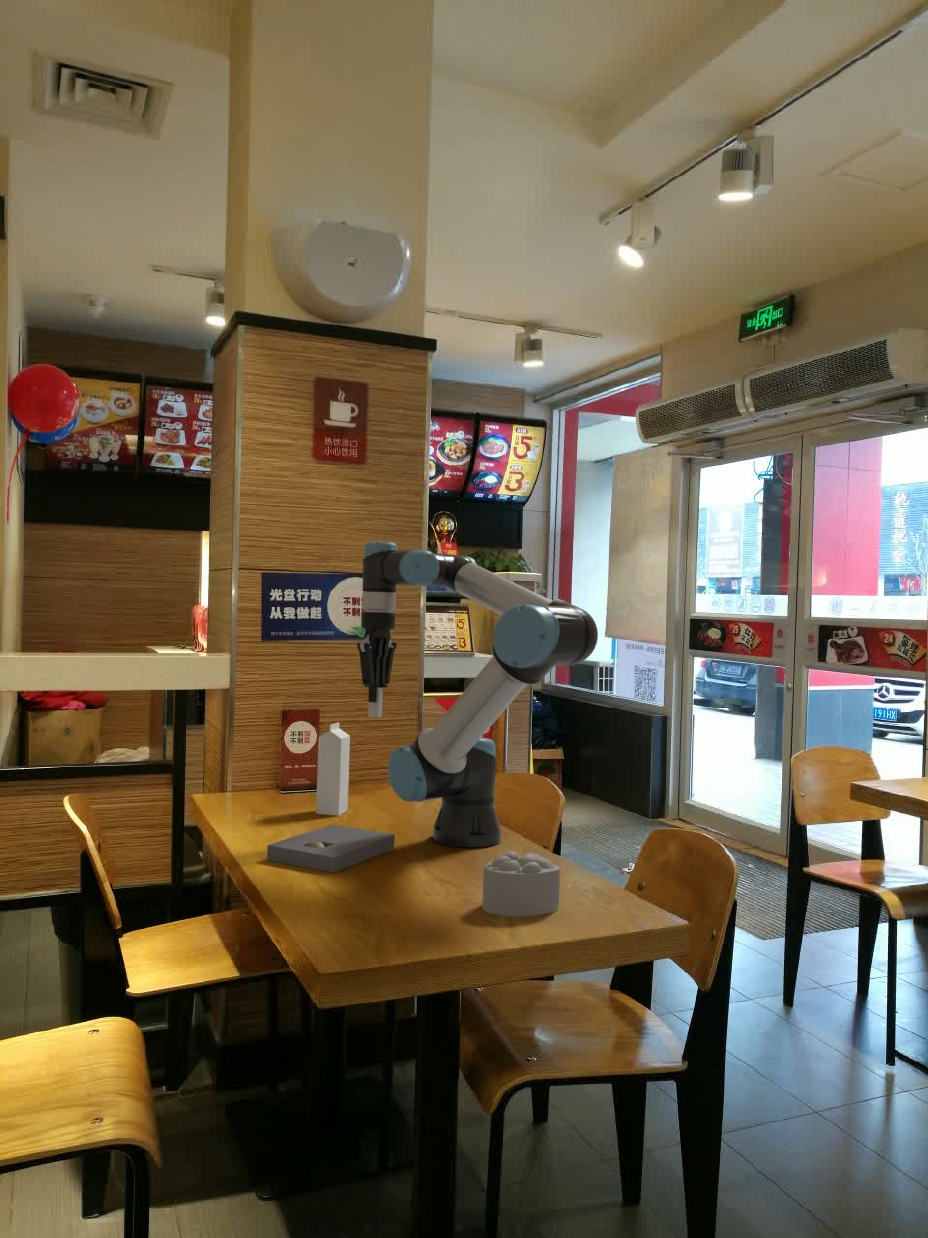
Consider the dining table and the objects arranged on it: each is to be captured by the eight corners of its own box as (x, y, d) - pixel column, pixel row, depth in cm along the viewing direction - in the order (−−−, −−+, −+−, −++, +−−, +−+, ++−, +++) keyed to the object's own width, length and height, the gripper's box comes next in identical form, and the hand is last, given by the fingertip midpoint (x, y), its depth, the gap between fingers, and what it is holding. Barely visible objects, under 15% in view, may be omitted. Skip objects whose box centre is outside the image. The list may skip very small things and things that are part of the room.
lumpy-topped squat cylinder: (565, 911, 160) (567, 861, 160) (499, 921, 154) (501, 868, 154) (534, 894, 169) (535, 846, 169) (470, 902, 163) (472, 853, 163)
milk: (315, 814, 228) (318, 724, 228) (325, 809, 234) (327, 721, 234) (339, 816, 227) (341, 725, 227) (348, 811, 233) (350, 722, 232)
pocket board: (394, 848, 197) (394, 834, 197) (333, 873, 178) (333, 857, 178) (332, 838, 205) (332, 824, 205) (266, 860, 185) (267, 845, 185)
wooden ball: (329, 855, 188) (327, 839, 187) (319, 864, 185) (317, 848, 184) (314, 852, 190) (312, 836, 189) (304, 861, 187) (302, 845, 186)
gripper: (380, 611, 217) (376, 713, 217) (347, 610, 205) (344, 717, 205) (407, 612, 213) (404, 715, 213) (376, 611, 202) (373, 720, 202)
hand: (375, 716), depth 209 cm, fingers closed
